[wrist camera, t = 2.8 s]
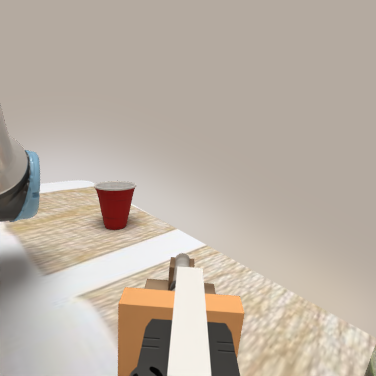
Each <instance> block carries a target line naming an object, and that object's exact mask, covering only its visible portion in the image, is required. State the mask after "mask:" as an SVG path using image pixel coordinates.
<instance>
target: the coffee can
mask: <svg viewBox="0 0 376 376" xmlns="http://www.w3.org/2000/svg"><path fill="white" fill-rule="evenodd" d="M364 376H376V345H375V348H374V351H373V354H372V356H371V359H370V362H369V365H368V367H367V370H366V373H365V375H364Z"/></svg>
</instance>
